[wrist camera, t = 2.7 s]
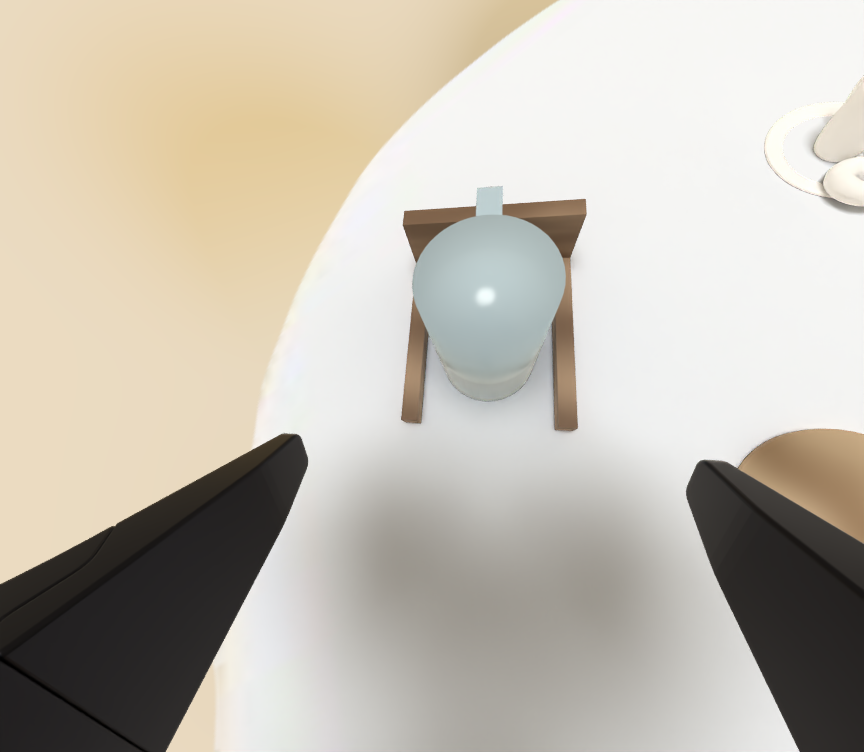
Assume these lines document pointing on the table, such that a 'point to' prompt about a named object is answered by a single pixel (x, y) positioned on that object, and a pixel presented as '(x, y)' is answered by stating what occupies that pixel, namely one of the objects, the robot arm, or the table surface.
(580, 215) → the dock
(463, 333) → the jug
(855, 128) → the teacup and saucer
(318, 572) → the table surface
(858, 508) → the coaster
